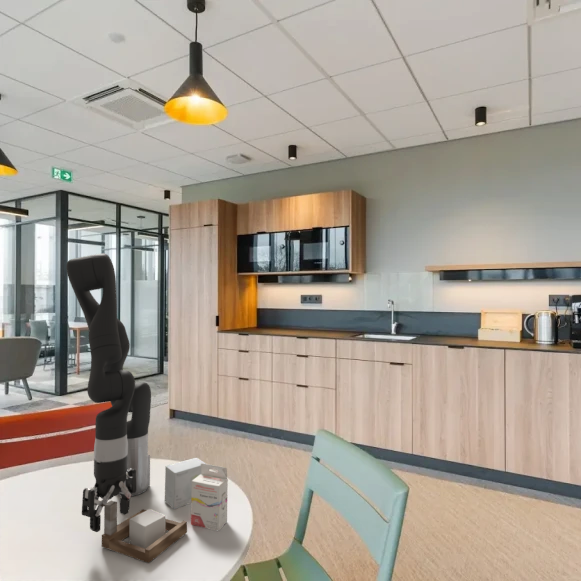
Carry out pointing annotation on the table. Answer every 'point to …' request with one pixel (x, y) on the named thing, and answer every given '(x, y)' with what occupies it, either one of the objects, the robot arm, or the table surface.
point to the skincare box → (181, 481)
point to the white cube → (146, 528)
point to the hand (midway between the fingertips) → (110, 521)
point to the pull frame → (121, 531)
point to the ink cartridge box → (209, 498)
